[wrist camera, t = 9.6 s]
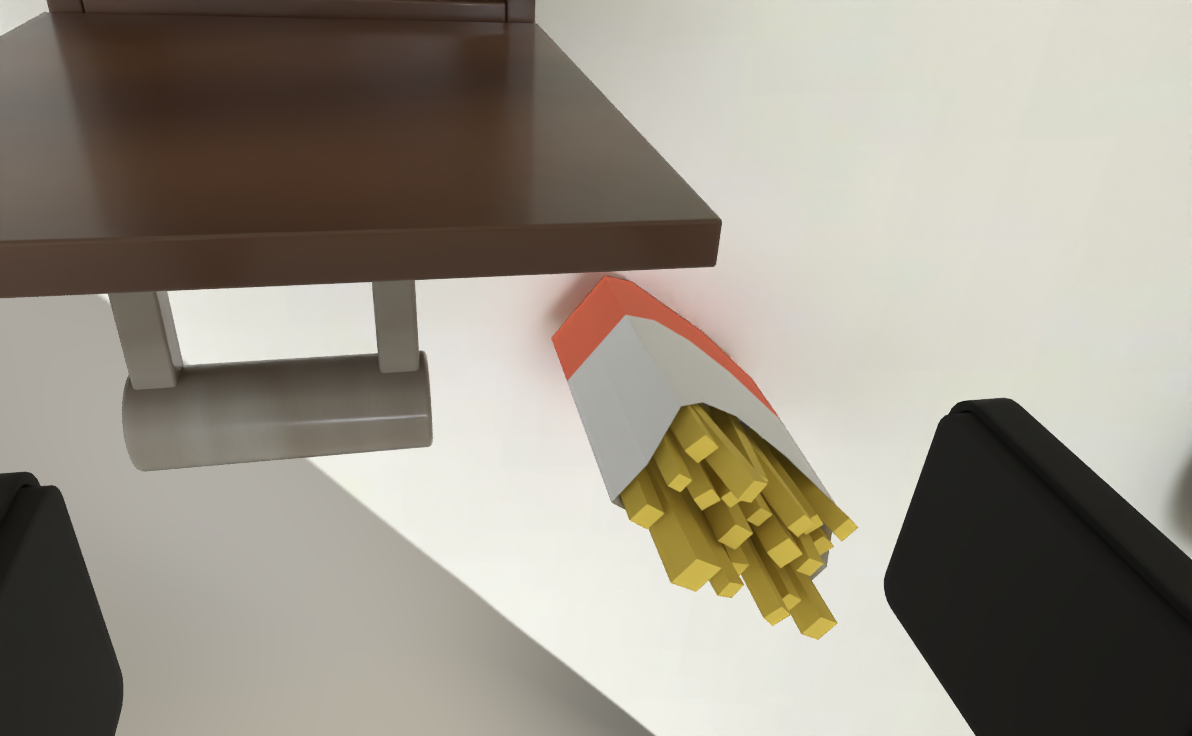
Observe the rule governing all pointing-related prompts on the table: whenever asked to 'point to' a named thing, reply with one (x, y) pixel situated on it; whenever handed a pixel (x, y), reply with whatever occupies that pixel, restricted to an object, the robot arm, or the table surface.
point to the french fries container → (698, 455)
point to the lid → (309, 200)
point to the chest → (316, 9)
